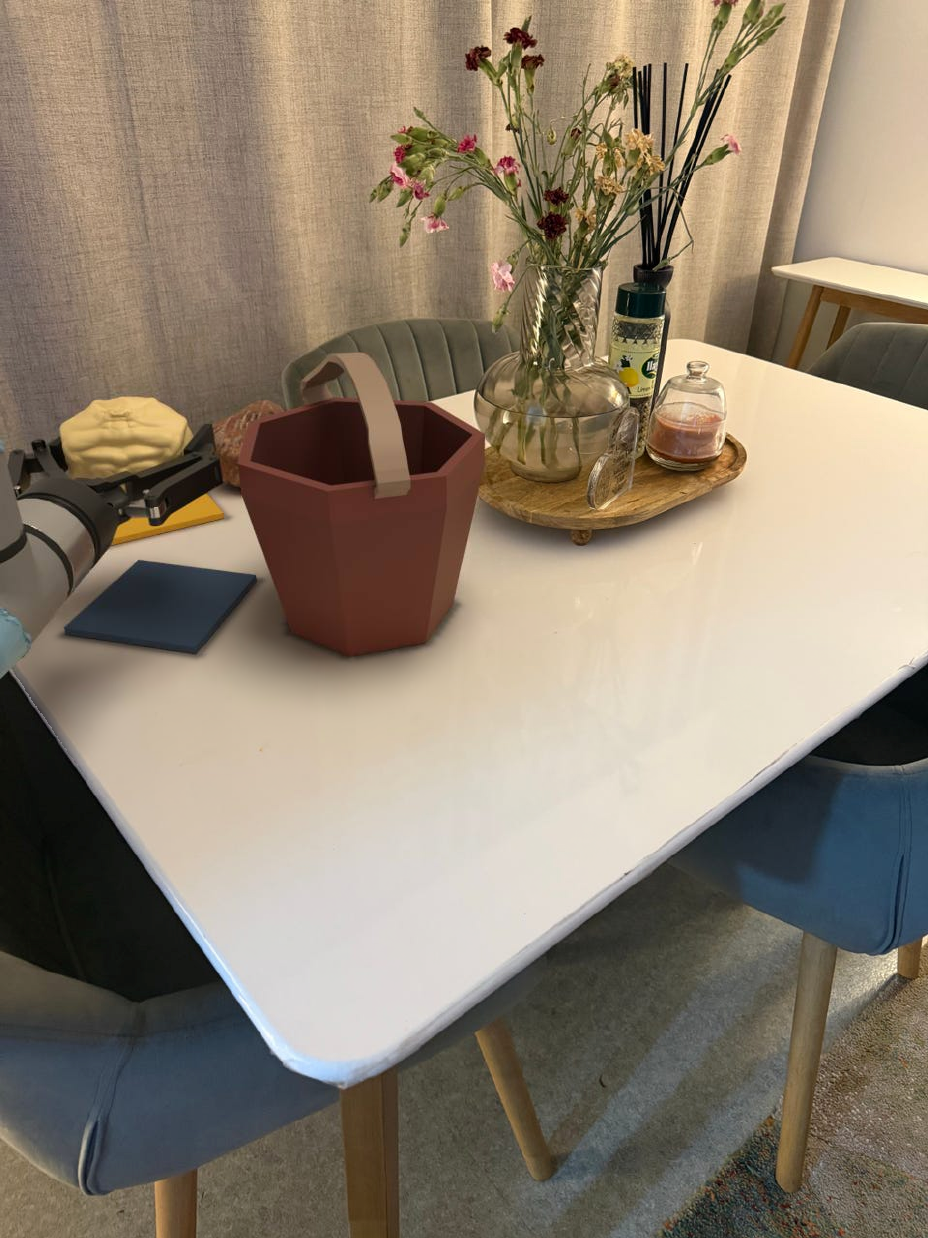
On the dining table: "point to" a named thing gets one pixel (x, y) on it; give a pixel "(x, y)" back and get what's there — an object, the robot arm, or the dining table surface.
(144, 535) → the yellow mat
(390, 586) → the bucket
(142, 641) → the blue mat
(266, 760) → the dining table surface
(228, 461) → the decorative rock
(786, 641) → the dining table surface
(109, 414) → the sculpture
